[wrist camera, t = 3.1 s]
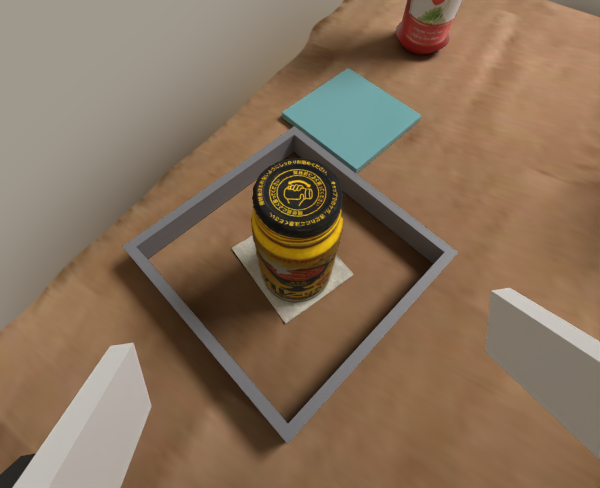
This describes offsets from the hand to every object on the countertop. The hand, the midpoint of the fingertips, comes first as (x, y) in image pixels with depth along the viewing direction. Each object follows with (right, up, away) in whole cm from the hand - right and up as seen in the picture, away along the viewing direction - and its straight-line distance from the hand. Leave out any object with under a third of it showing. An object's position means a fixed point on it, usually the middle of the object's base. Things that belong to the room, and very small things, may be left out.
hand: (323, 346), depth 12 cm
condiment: (-2, +2, +18) cm, 18 cm away
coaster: (+5, +18, +26) cm, 32 cm away
